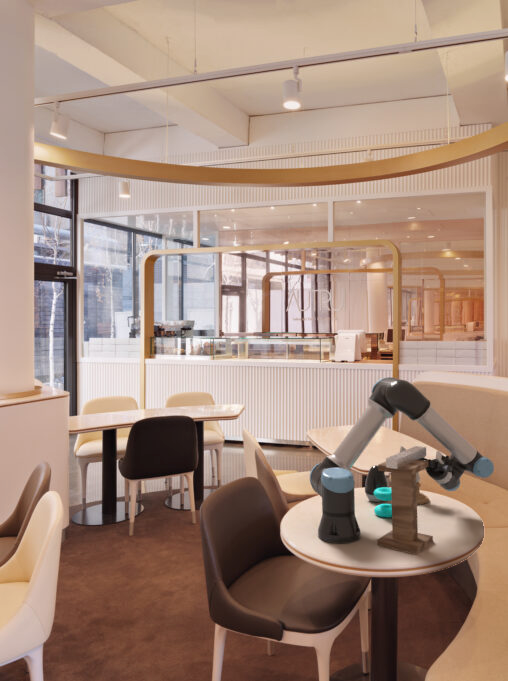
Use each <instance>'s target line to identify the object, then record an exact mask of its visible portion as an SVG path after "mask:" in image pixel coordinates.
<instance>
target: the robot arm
mask: <svg viewBox="0 0 508 681" xmlns="http://www.w3.org/2000/svg"><path fill="white" fill-rule="evenodd" d="M367 403H368V406H367V407H366V408H365V410H364V411H363V413H362V414H361V415H360V417H359V418H358V420H357V421H356V422H355V423H354V425H353V426H352V427H351V429H350V431H349V432H348V433H347V434H346V436H345V437H344V438H343V439H342V441H341V442H340V444H339V445H338V446H337V448H336V449H335V451H334V452H332V453H333V454H330V455H326V456H325V458H324V459H323V460H322V462H319V463H317V464H315V465H314V466H313V467H312V469H311V471H310V473H309V482H310V485H311V487H312V489H313V491H314V492H315V493H316V494H318V495H319V496H320V497H321V506H322V510H321V511H322V515H321V518H320V522H319V525H318V529H317V536H318V538H319V539H320V540H322V541H324V542H327V543H331V544H333V543H334V544H349V543H354V542H357V541H358V540H360V538H361V528H360V526H359V523H358V520H357V517H356V513H355V512H356V507H355V504H356V503H355V486H356V485H355V477H354V474H353V473H352V470H351V469H352V467H353V466H354V465H355V463H356V462H357V460H358V459H359V458H360V457H361V454H363V453H364V451H365V449H366V448H367V447H368V445H369V444H370V443H371V441H372V440H373V438H374V437H375V436H376V435H377V433H378V432H379V430H380V429H381V427H383V425H384V423H385V422H386V421H387V419H393V418H394V416H395V415H396V414H397V413H398V412H400V413H402V414H403V415H405V416H406V417H408V418H409V419H410V420H411V421H416V422H417V423H418V424H420V426H421V427H422V428H423V429H425V430H426V431H427V432H428V433H429V434H430V435H431V436H432V437H433V438H434V439H435V440H436V441H438V443H439V444H441V445H442V446H443V447H444V448H445V449H446V451H448V452H449V453H450V456H449V455H444V454H443V453H442V452H441V451H440V450H436V454H435V458H432V459H430V458H429V459H427V458H426V457H425V458H420V459H418V460H423V461H428V467H427V468H425V469H424V470H425V471H426V473H427V475H428V476H429V477H430V478H431V479H433V480H434V481H435V482H436V484H438V485H439V486H440V487H441V488H442V489H444V490H445V491H447V492H455V491H456V490H458V489H459V488H460V485H461V480H460V479H461V478H462V476H463V475H464V473H465V471H466V472H468V473H470V474H473V475H474V476H476V477H478V478H482V479H486V478H490V476H491V475H492V474H493V472H494V470H495V465H494V463H493V461H492V460H491V459H490V458H488V457H486V456H484V455H482V453H480V452H479V451H478V450H477V449H476V448H475V447H474V446H473V445H472V444H471V443H470V442H469V441H468V440H466V438H465V437H464V436H462V435H461V434H460V432H458V430H456V428H454V427H453V426H452V425H451V424H450V423H449V422H448V421H447V420H446V419H445V418H444V417H443V416H442V415H441V414H440V413H439V412H438V411H437V410H436V409H434V408H433V407H432V402H431V400H429V399H428V398H427V397H426V396H425V395H424V394H423V393H422V392H421V391H420V390H419V389H418V388H417V387H416V386H415V385H414V384H412V383H411V382H410V381H408V380H405V379H400V378H396V377H391V376H390V377H383V378H379V379H378V380H377V381H376V382H375V383H374V384H373V386H372V390H371V394H370V396H369V397H368V399H367ZM399 449H400V450H399V453H400V452H403V451H405V450H407V449H406V448H405V447H404V446H402V445H401V446H400V448H399Z"/></svg>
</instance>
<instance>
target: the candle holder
mask: <svg viewBox="0 0 508 681" xmlns="http://www.w3.org/2000/svg"><path fill="white" fill-rule="evenodd" d="M422 458H426V456H424V457H422ZM419 473H420V472H417V473H416V483H417V505H425V504H427V503H429V500H430V498H429V496H427V495H426V494H425V493H422V492H420V488H421V486H422V485H421V483H420V481H421V477H420V474H419Z"/></svg>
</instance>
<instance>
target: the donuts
mask: <svg viewBox="0 0 508 681" xmlns="http://www.w3.org/2000/svg"><path fill="white" fill-rule="evenodd" d="M374 496H375V497H376V498H378V499H380V500H384V501H386V502H387V501H388V502H389V501H391V502H392V495H391V487H390V488H389V487H382V488H377V489H376V490H375V491H374ZM384 501H383V502H384ZM373 511H374V514H375V515H376V516H378V517H380V518H385V517H386V519H391V518H390V517H392V503H381V504H377V505H376V506H375V507H374V510H373ZM388 517H389V518H388Z"/></svg>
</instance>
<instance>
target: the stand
mask: <svg viewBox="0 0 508 681" xmlns="http://www.w3.org/2000/svg"><path fill="white" fill-rule="evenodd" d="M377 466H378V471H385V472H388V473H390V488H391V495H392V500H391V504H392V518H391V525H392V526H391V528H392V529H391V530H390V531H388V532H387V533H385V534H384V535H382V536H381V537H379V538H378V539H376V541H377V542H376V544H377V546H379V547H383V548H386V549H390V548H391V550H396V551H400V552H403V551H404V553H408V554H412V555H419V553H421V552H422V551H423V550H424V549H426V547H428V546H429V545H431V544H433V542H434V536H433V535H430V534H425V533H421V532H420V533H419V532H418V531H419V529H418V528H419V526H418V525H419V524H418V504H417V483H416V473H417V472H418V473H420V472H421V471H422V470H423V471H424V470H426V469H425V468H427V467H428V461H425V460H424V461H423V460H416V461H413V462H411V463H409V464H407V465H405V466H403V467H400V468H398V469H394V468H387V467H386V461H383V462H382V463H379V464H377Z"/></svg>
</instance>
